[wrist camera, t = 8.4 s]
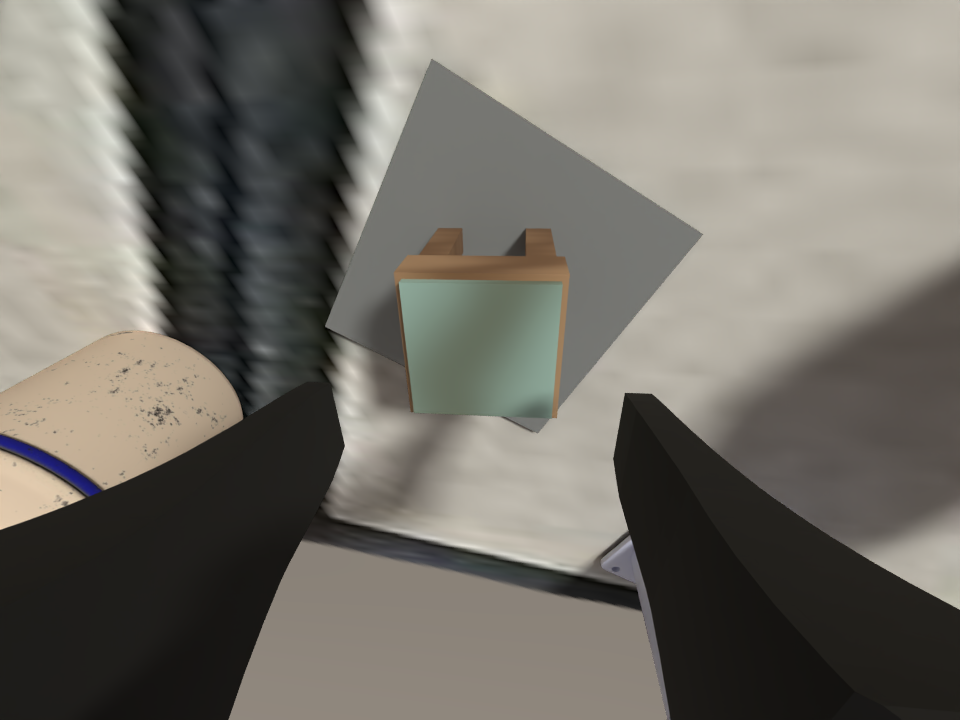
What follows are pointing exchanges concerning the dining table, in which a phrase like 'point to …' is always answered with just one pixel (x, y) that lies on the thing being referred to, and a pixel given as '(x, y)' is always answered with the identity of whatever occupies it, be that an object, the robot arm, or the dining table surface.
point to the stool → (483, 327)
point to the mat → (507, 222)
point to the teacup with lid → (106, 420)
